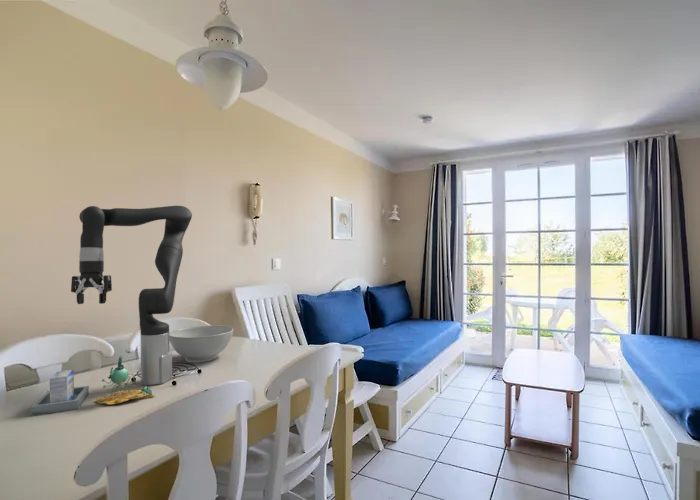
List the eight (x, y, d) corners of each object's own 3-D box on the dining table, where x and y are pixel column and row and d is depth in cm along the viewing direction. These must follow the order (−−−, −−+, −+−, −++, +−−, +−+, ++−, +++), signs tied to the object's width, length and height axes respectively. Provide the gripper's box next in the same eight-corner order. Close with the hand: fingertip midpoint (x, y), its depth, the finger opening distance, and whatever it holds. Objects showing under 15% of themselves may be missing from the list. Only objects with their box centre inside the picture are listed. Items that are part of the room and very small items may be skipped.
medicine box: (68, 405, 113) (67, 376, 113) (49, 408, 111) (49, 378, 111) (74, 396, 120) (74, 369, 120) (57, 399, 118) (57, 371, 118)
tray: (88, 393, 125) (88, 385, 125) (78, 408, 112) (78, 400, 112) (47, 399, 120) (47, 391, 120) (31, 415, 108) (31, 406, 108)
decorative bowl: (246, 355, 170) (246, 328, 170) (193, 371, 148) (193, 340, 148) (208, 348, 185) (208, 323, 185) (154, 361, 162) (154, 333, 162)
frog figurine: (144, 406, 114) (137, 357, 114) (84, 414, 114) (77, 365, 114) (159, 394, 123) (154, 348, 123) (104, 401, 123) (98, 356, 123)
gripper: (116, 259, 145) (116, 302, 144) (81, 260, 146) (81, 303, 145) (102, 259, 137) (102, 304, 137) (65, 260, 139) (65, 305, 138)
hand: (91, 303), depth 141 cm, fingers open, 8 cm apart
